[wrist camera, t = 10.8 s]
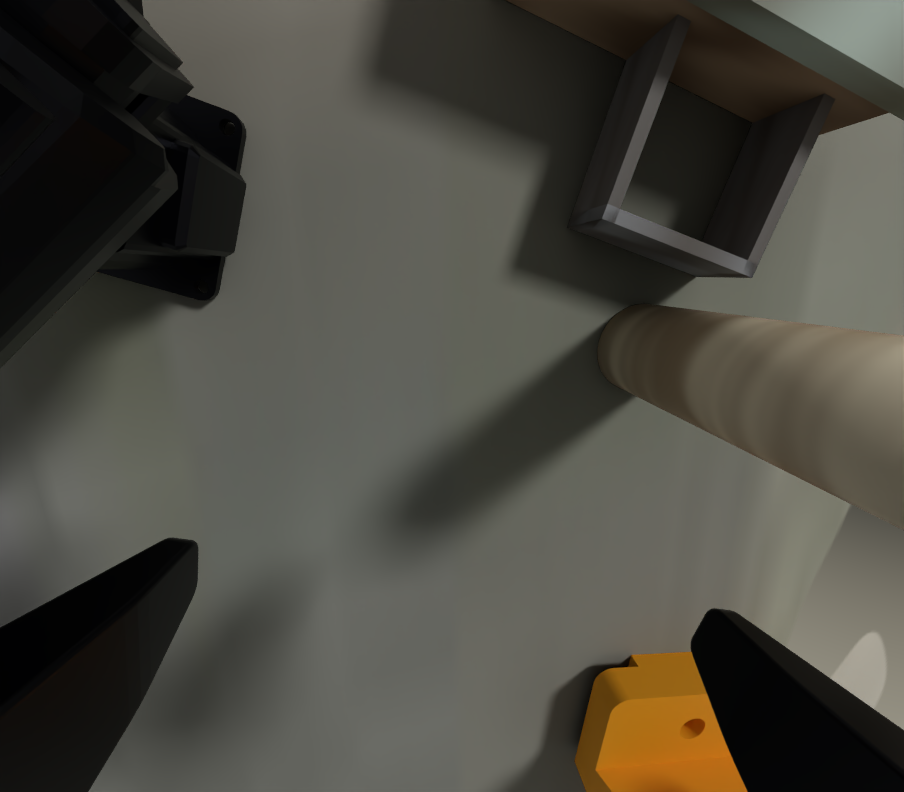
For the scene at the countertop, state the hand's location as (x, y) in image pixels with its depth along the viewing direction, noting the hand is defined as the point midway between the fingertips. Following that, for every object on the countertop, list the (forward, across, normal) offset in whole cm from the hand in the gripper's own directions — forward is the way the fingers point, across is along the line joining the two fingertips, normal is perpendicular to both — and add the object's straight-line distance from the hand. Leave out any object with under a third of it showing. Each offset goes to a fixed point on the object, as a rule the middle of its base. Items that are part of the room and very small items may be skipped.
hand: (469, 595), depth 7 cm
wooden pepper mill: (+13, -9, -3) cm, 16 cm away
